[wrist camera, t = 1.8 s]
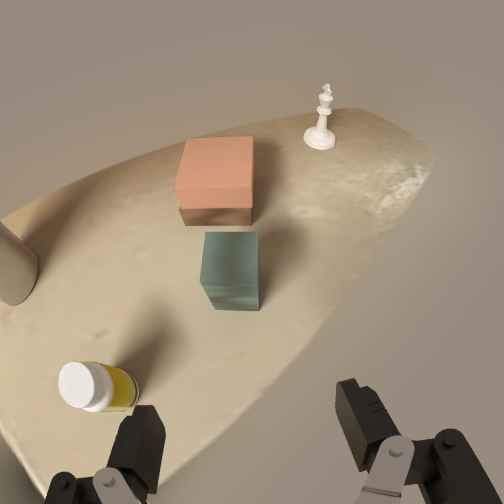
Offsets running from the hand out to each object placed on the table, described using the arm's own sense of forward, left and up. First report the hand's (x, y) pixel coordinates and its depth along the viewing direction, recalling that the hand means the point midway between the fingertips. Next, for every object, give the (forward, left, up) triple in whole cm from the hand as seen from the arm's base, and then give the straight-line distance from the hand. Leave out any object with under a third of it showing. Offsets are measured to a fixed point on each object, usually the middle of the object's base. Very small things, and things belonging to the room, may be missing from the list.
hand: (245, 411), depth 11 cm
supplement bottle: (-14, -1, -16) cm, 22 cm away
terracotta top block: (-5, +24, -13) cm, 27 cm away
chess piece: (+9, +35, -16) cm, 40 cm away
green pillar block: (-2, +11, -16) cm, 20 cm away
